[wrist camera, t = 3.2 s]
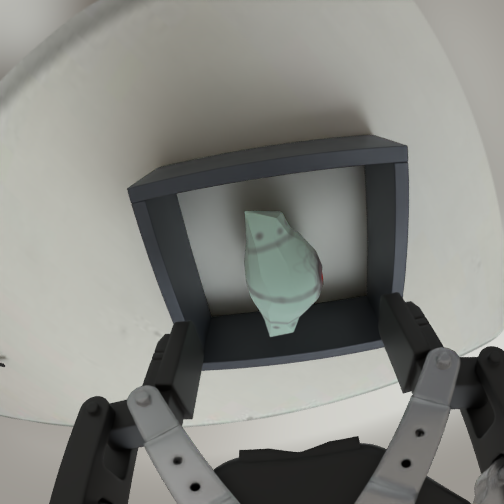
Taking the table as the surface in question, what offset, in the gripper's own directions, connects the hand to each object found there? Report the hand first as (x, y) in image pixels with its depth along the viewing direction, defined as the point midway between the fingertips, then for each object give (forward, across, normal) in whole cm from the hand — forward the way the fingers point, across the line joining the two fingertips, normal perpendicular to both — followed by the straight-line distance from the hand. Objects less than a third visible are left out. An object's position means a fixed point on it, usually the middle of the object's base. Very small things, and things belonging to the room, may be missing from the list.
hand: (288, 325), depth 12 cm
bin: (+9, 0, 0) cm, 9 cm away
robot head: (+9, 0, 0) cm, 9 cm away
